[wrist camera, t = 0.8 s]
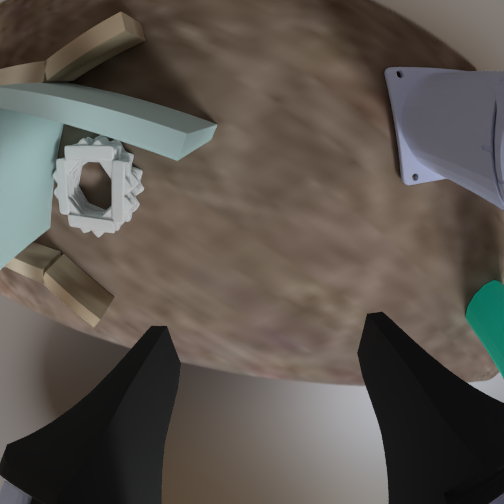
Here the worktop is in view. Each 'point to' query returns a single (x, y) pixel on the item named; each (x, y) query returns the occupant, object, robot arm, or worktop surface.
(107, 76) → the worktop surface
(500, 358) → the candle
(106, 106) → the l-shaped corner panel
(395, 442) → the robot arm
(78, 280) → the pocket
